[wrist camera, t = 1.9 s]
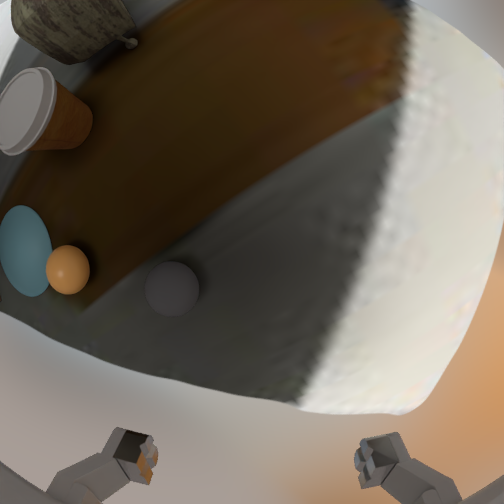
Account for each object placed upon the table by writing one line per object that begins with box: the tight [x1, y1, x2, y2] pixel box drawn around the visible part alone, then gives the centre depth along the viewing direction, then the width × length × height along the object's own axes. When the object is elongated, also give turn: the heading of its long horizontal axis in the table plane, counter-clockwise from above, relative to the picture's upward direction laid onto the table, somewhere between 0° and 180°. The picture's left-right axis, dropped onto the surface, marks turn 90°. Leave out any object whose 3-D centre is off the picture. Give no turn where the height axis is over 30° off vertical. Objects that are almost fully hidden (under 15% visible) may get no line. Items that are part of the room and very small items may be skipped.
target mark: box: [0, 205, 53, 297], centre depth 30 cm, size 14×14×1 cm
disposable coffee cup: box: [0, 67, 93, 155], centre depth 21 cm, size 10×10×12 cm
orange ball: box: [46, 245, 90, 294], centre depth 28 cm, size 6×6×6 cm
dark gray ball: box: [144, 261, 199, 317], centre depth 29 cm, size 6×6×6 cm
